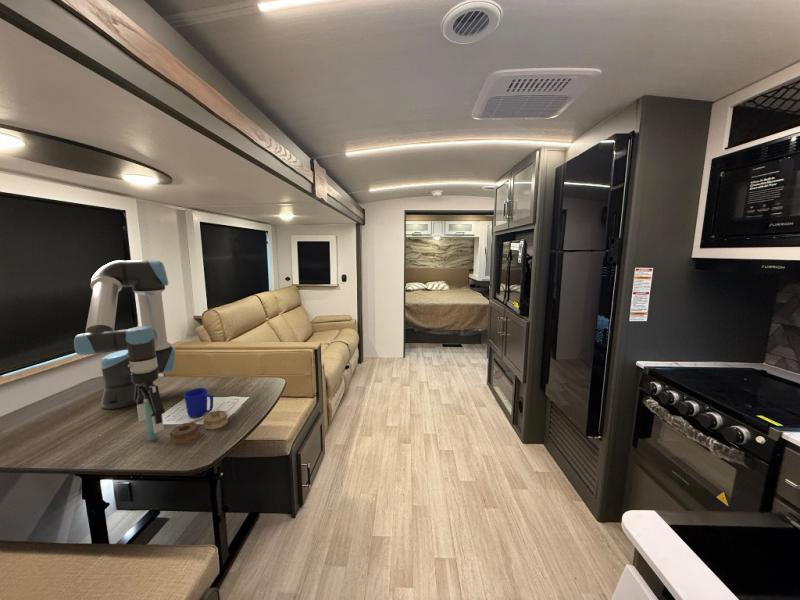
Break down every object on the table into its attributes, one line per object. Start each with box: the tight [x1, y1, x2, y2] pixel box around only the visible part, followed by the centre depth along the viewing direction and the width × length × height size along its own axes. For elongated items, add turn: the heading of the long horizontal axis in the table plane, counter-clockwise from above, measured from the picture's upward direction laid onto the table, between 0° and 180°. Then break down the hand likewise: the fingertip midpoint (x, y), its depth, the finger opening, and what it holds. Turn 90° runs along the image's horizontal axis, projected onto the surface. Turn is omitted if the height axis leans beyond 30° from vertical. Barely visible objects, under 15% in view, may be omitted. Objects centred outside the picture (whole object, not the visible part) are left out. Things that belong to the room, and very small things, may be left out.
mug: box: [183, 387, 214, 418], centre depth 131 cm, size 8×12×10 cm
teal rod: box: [143, 399, 158, 441], centre depth 113 cm, size 2×2×16 cm
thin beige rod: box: [186, 414, 206, 423], centre depth 126 cm, size 14×1×1 cm, turn 147°
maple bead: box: [202, 409, 229, 430], centre depth 124 cm, size 8×8×4 cm
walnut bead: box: [169, 421, 200, 445], centre depth 115 cm, size 8×8×4 cm
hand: (151, 425), depth 114 cm, fingers open, 13 cm apart
